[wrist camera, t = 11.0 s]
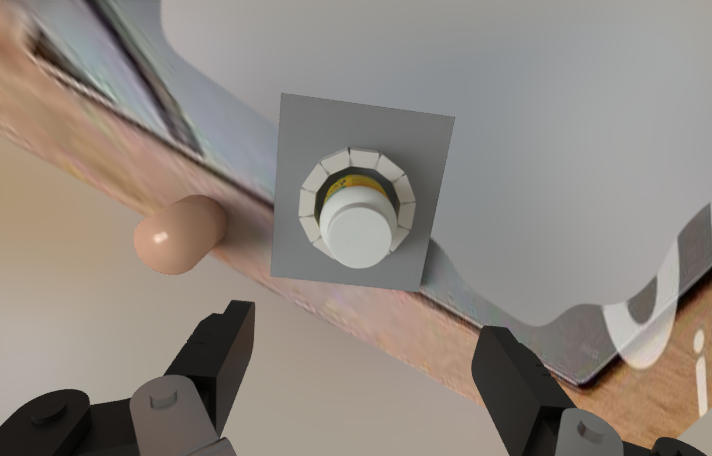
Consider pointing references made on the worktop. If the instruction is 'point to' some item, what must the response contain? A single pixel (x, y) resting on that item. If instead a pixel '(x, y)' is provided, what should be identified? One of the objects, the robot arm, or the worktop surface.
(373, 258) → the supplement bottle
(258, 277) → the worktop surface
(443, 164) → the collar board
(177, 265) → the peach pill-shaped knob
